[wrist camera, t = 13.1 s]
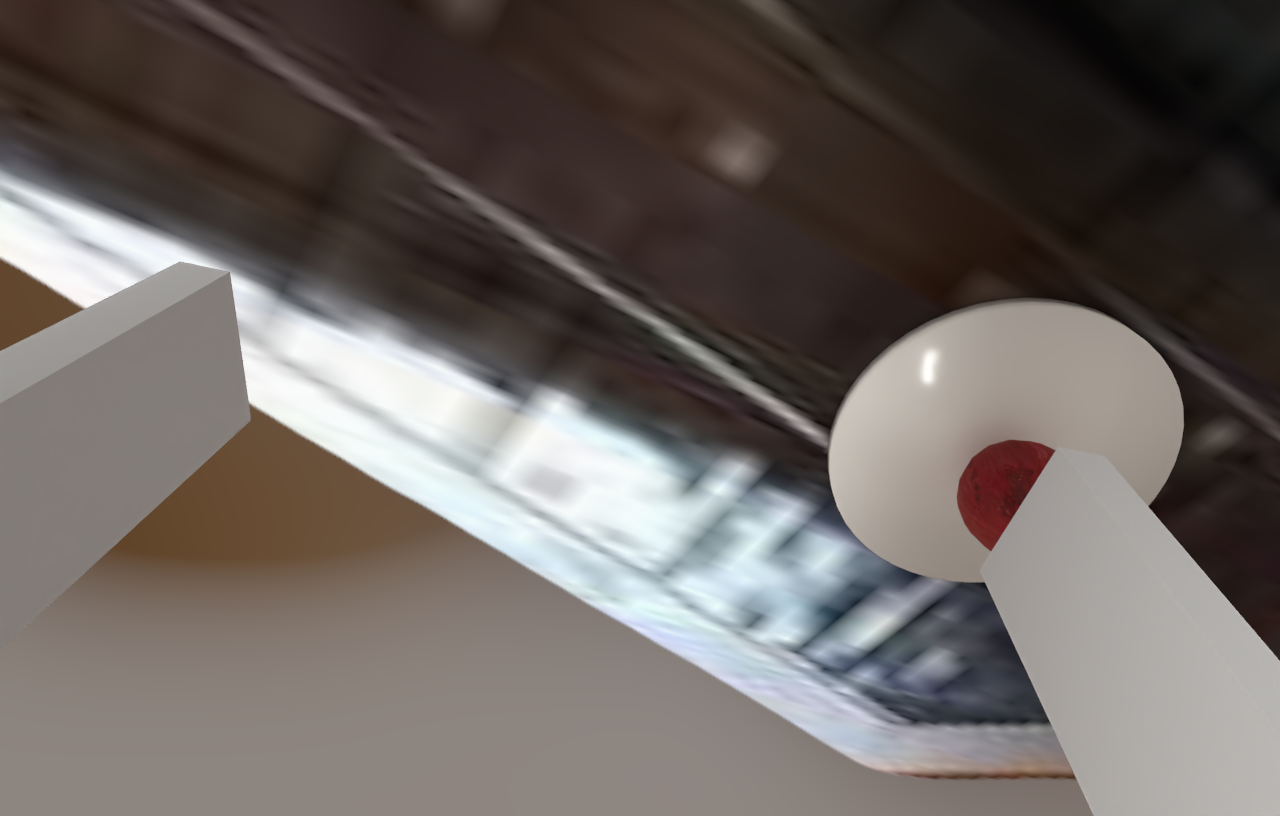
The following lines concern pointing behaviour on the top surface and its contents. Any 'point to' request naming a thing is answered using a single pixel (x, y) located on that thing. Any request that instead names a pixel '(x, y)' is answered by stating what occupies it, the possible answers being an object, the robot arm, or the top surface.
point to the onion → (998, 486)
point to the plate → (992, 419)
